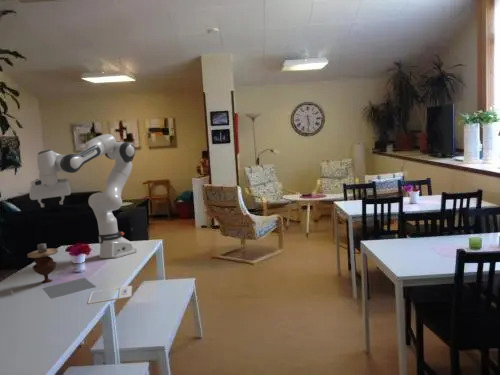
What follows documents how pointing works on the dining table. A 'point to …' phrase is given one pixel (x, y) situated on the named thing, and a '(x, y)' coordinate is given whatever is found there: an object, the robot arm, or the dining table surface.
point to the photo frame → (124, 293)
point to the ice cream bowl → (44, 267)
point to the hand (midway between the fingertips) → (52, 205)
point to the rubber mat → (68, 287)
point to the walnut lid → (42, 251)
